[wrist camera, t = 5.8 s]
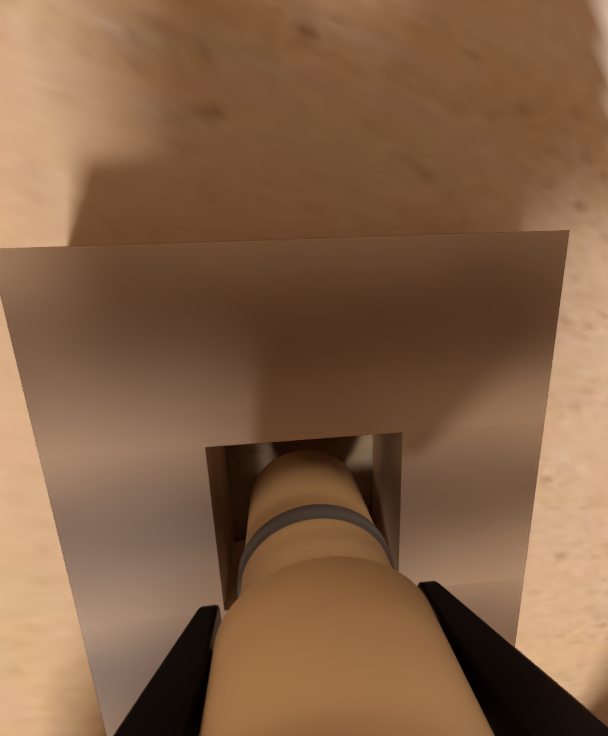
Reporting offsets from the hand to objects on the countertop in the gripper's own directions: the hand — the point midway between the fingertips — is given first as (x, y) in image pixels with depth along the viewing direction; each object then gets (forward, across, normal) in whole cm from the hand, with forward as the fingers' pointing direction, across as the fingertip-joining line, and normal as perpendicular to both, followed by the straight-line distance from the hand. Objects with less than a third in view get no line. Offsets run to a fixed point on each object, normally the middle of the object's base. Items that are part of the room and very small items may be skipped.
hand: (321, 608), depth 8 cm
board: (+6, 0, 0) cm, 6 cm away
